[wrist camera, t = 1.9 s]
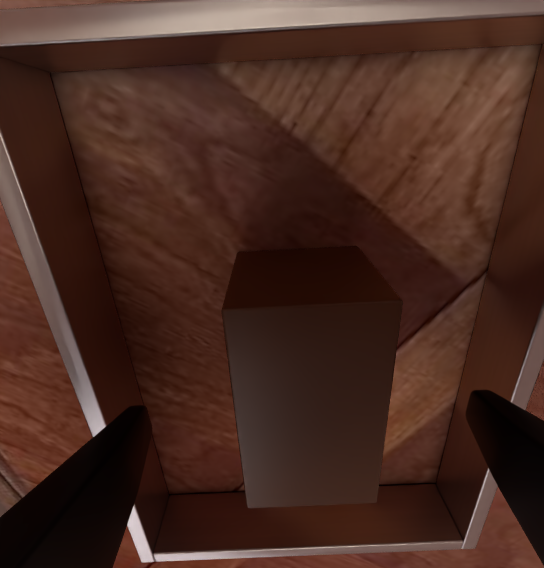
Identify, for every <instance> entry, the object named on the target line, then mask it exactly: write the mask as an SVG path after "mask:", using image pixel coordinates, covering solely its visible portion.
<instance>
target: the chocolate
mask: <svg viewBox="0 0 544 568" xmlns="http://www.w3.org/2000/svg"><path fill="white" fill-rule="evenodd" d="M402 305H403V301H402V299H401V298H400V297H399V296H398V295H397V293H396V292H395V291H394V290H393V289H392V287H391V286H390V285H389V284H388V283H387V281H386V280H385V279H384V278H383V277H382V275H381V274H380V273H379V272H378V271H377V269H376V268H375V267H374V266H373V265H372V263H371V262H370V261H369V260H368V259H367V257H366V256H365V255H364V254H363V252H362V251H361V250H360V249H359V248H358V247H357V246H348V247H328V248H309V249H289V250H270V251H251V252H238V253H237V256H236V260H235V263H234V267H233V270H232V274H231V278H230V281H229V285H228V289H227V292H226V296H225V300H224V303H223V307H222V319H223V327H224V334H225V342H226V350H227V357H228V365H229V372H230V380H231V388H232V395H233V403H234V411H235V418H236V426H237V434H238V441H239V449H240V456H241V464H242V472H243V479H244V487H245V495H246V502H247V507H248V508H267V507H291V506H314V505H338V504H362V503H376V502H377V495H378V488H379V480H380V473H381V465H382V457H383V450H384V442H385V434H386V427H387V419H388V411H389V404H390V396H391V389H392V381H393V373H394V366H395V358H396V350H397V343H398V335H399V328H400V320H401V312H402Z"/></svg>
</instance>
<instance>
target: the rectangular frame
mask: <svg viewBox="0 0 544 568" xmlns="http://www.w3.org/2000/svg"><path fill="white" fill-rule="evenodd" d="M542 43H543V45H542V49H541V53H540V57H539V61H538V65H537V69H536V74H535V78H534V82H533V86H532V90H531V94H530V98H529V103H528V107H527V111H526V115H525V119H524V123H523V127H522V131H521V136H520V140H519V144H518V148H517V152H516V156H515V160H514V164H513V169H512V173H511V177H510V181H509V185H508V189H507V193H506V198H505V202H504V206H503V210H502V214H501V218H500V222H499V226H498V231H497V235H496V239H495V243H494V247H493V251H492V255H491V259H490V264H489V268H488V272H487V276H486V280H485V284H484V288H483V293H482V297H481V301H480V305H479V309H478V313H477V317H476V321H475V326H474V330H473V334H472V338H471V342H470V346H469V350H468V354H467V359H466V363H465V367H464V371H463V375H462V379H461V383H460V388H459V392H458V396H457V400H456V404H455V408H454V412H453V416H452V421H451V425H450V429H449V433H448V437H447V441H446V445H445V450H444V454H443V458H442V462H441V466H440V470H439V474H438V478H437V483H436V484H418V485H394V486H379V488H378V495H377V502H376V503H362V504H338V505H314V506H291V507H267V508H248V507H247V502H246V495H245V492H231V493H208V494H185V495H170V496H169V494H168V490H167V487H166V483H165V480H164V476H163V473H162V469H161V466H160V462H159V459H158V455H157V451H156V448H155V444H154V441H153V437H152V436H151V440H150V444H149V449H148V453H147V457H146V461H145V466H144V470H143V474H142V478H141V483H140V486H139V490H138V494H137V497H136V500H135V503H134V506H133V509H132V512H131V515H130V518H129V521H128V524H127V526H128V529H129V531H130V534H131V536H132V539H133V542H134V544H135V547H136V549H137V552H138V554H139V557H140V560H141V562H155V561H181V560H206V559H230V558H255V557H280V556H304V555H329V554H354V553H378V552H403V551H428V550H452V549H461V548H462V549H475V548H476V545H477V542H478V540H479V537H480V534H481V531H482V529H483V526H484V523H485V520H486V518H487V515H488V512H489V509H490V507H491V504H492V501H493V498H494V496H495V493H496V490H497V487H498V485H497V484H496V482H495V480H494V478H493V476H492V474H491V472H490V470H489V468H488V466H487V464H486V462H485V460H484V457H483V455H482V453H481V451H480V449H479V446H478V444H477V442H476V440H475V438H474V436H473V433H472V431H471V429H470V427H469V425H468V423H467V420H466V416H465V412H466V408H467V404H468V400H469V396H470V393H471V392H472V391H473V390H482V389H487V390H490V391H492V392H494V393H496V394H498V395H499V396H501V397H503V398H505V399H506V400H508V401H510V402H512V403H513V404H515V405H517V406H519V407H520V408H522V409H524V410H526V407H527V405H528V402H529V399H530V396H531V394H532V391H533V388H534V385H535V383H536V380H537V377H538V374H539V372H540V369H541V366H542V363H543V361H544V0H149V1H132V2H116V3H99V4H83V5H66V6H49V7H33V8H16V9H0V200H1V203H2V205H3V208H4V210H5V213H6V215H7V218H8V221H9V223H10V226H11V228H12V231H13V233H14V236H15V239H16V241H17V244H18V246H19V249H20V251H21V254H22V257H23V259H24V262H25V264H26V267H27V269H28V272H29V274H30V277H31V280H32V282H33V285H34V287H35V290H36V292H37V295H38V298H39V300H40V303H41V305H42V308H43V310H44V313H45V316H46V318H47V321H48V323H49V326H50V328H51V331H52V334H53V336H54V339H55V341H56V344H57V346H58V349H59V352H60V354H61V357H62V359H63V362H64V364H65V367H66V370H67V372H68V375H69V377H70V380H71V382H72V385H73V387H74V390H75V393H76V395H77V398H78V400H79V403H80V405H81V408H82V411H83V413H84V416H85V418H86V421H87V423H88V426H89V429H90V431H91V434H92V436H93V437H94V436H95V435H96V434H98V433H99V432H100V431H101V430H102V429H103V428H105V427H106V426H107V425H108V424H109V423H110V422H111V421H113V420H114V419H115V418H116V417H117V416H118V415H120V414H121V413H122V412H123V411H124V410H125V409H127V408H128V407H129V406H133V405H143V402H142V399H141V395H140V391H139V388H138V384H137V381H136V377H135V374H134V370H133V367H132V363H131V360H130V356H129V353H128V349H127V346H126V342H125V339H124V335H123V331H122V328H121V324H120V321H119V317H118V314H117V310H116V307H115V303H114V300H113V296H112V293H111V289H110V286H109V282H108V279H107V275H106V271H105V268H104V264H103V261H102V257H101V254H100V250H99V247H98V243H97V240H96V236H95V233H94V229H93V226H92V222H91V218H90V215H89V211H88V208H87V204H86V201H85V197H84V194H83V190H82V187H81V183H80V180H79V176H78V173H77V169H76V166H75V162H74V158H73V155H72V151H71V148H70V144H69V141H68V137H67V134H66V130H65V127H64V123H63V120H62V116H61V113H60V109H59V106H58V102H57V98H56V95H55V91H54V88H53V84H52V81H51V77H50V74H49V72H66V71H83V70H100V69H117V68H135V67H152V66H169V65H186V64H204V63H221V62H238V61H255V60H272V59H290V58H307V57H324V56H341V55H358V54H376V53H393V52H410V51H427V50H444V49H462V48H479V47H496V46H513V45H530V44H542Z"/></svg>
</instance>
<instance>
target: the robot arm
mask: <svg viewBox="0 0 544 568" xmlns="http://www.w3.org/2000/svg"><path fill="white" fill-rule="evenodd" d="M465 416H466V420H467V423H468V425H469V427H470V429H471V431H472V433H473V436H474V438H475V440H476V442H477V444H478V446H479V449H480V451H481V453H482V455H483V457H484V460H485V462H486V464H487V466H488V468H489V470H490V472H491V474H492V476H493V478H494V480H495V482H496V484H497V485H498V487H499V489H500V491H501V492H502V494H503V496H504V498H505V499H506V501H507V503H508V504H509V506H510V508H511V510H512V511H513V513H514V515H515V517H516V518H517V520H518V522H519V524H520V525H521V527H522V529H523V530H524V532H525V534H526V536H527V537H528V539H529V541H530V543H531V544H532V546H533V548H534V549H535V551H536V553H537V555H538V556H539V558H540V560H541V562H542V563H543V565H544V421H543V420H541V419H540V418H538V417H536V416H534V415H533V414H531V413H529V412H527V411H526V410H524V409H522V408H520V407H519V406H517V405H515V404H513V403H512V402H510V401H508V400H506V399H505V398H503V397H501V396H499V395H498V394H496V393H494V392H492V391H490V390H487V389H482V390H473V391H472V392H471V393H470V396H469V400H468V404H467V408H466V412H465ZM151 436H152V425H151V421H150V418H149V414H148V411H147V408H146V406H144V405H133V406H129V407H128V408H127V409H125V410H124V411H123V412H122V413H121V414H120V415H118V416H117V417H116V418H115V419H114V420H113V421H111V422H110V423H109V424H108V425H107V426H106V427H105V428H103V429H102V430H101V431H100V432H99V433H98V434H96V435H95V436H94V437H93V438H92V439H91V440H89V441H88V442H87V443H86V444H85V445H84V446H82V447H81V448H80V449H79V450H78V451H77V452H75V453H74V454H73V455H72V456H71V457H70V458H69V459H67V460H66V461H65V462H64V463H63V464H62V465H60V466H59V467H58V468H57V469H56V470H55V471H53V472H52V473H51V474H50V475H49V476H48V477H46V478H45V479H44V480H43V481H42V482H41V483H39V484H38V485H37V486H36V487H35V488H34V489H32V490H31V491H30V492H29V493H28V494H27V495H26V496H24V497H23V498H22V499H21V500H20V501H19V502H17V503H16V504H15V505H14V506H13V507H12V508H10V509H9V510H8V511H7V512H6V513H5V514H3V515H2V516H1V517H0V568H113V565H114V562H115V559H116V556H117V553H118V550H119V547H120V544H121V541H122V538H123V535H124V533H125V530H126V527H127V524H128V521H129V518H130V515H131V512H132V509H133V506H134V503H135V500H136V497H137V494H138V490H139V486H140V483H141V478H142V474H143V470H144V466H145V461H146V457H147V453H148V449H149V444H150V440H151Z"/></svg>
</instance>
